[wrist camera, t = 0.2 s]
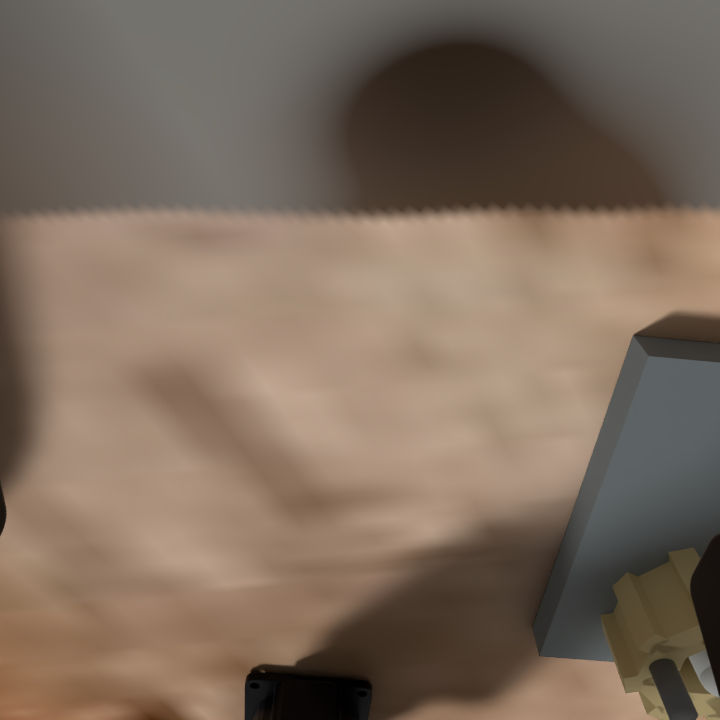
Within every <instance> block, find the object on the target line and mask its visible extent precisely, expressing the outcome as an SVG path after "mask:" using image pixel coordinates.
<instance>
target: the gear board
mask: <svg viewBox="0 0 720 720" xmlns="http://www.w3.org/2000/svg"><path fill="white" fill-rule="evenodd" d="M717 533H720V344H719V343H708V342H697V341H686V340H675V339H664V338H654V337H643V336H633V337H632V340H631V343H630V346H629V349H628V352H627V355H626V358H625V361H624V364H623V366H622V369H621V372H620V375H619V378H618V381H617V384H616V387H615V390H614V393H613V396H612V398H611V401H610V404H609V407H608V410H607V413H606V416H605V419H604V422H603V425H602V427H601V430H600V433H599V436H598V439H597V442H596V445H595V448H594V451H593V454H592V457H591V459H590V462H589V465H588V468H587V471H586V474H585V477H584V480H583V483H582V486H581V489H580V491H579V494H578V497H577V500H576V503H575V506H574V509H573V512H572V515H571V518H570V520H569V523H568V526H567V529H566V532H565V535H564V538H563V541H562V544H561V547H560V550H559V552H558V555H557V558H556V561H555V564H554V567H553V570H552V573H551V576H550V579H549V582H548V584H547V587H546V590H545V593H544V596H543V599H542V602H541V605H540V608H539V611H538V613H537V616H536V619H535V622H534V625H533V632H534V636H535V640H536V644H537V648H538V652H539V656H544V657H557V658H570V659H583V660H596V661H609V662H615V664H616V667H617V670H618V673H619V675H620V678H621V681H622V684H623V687H624V689H625V692H626V693H631V692H637V691H639V694H640V697H641V699H642V702H643V705H644V707H645V710H646V712H647V714H648V715H650V716H653V717H656V718H658V719H661V720H668V719H670V720H696V718H697V717H698V716H702V717H706V720H720V697H719V694H718V690H717V687H716V683H715V680H714V676H713V673H712V669H711V665H710V662H709V658H708V655H707V651H706V648H705V644H704V641H703V637H702V634H701V630H700V626H699V623H698V619H697V616H696V612H695V609H694V605H693V602H692V598H691V593H690V581H691V577H692V574H693V572H694V570H695V568H696V566H697V564H698V562H699V561H700V559H701V557H702V555H703V553H704V551H705V549H706V547H707V545H708V544H709V542H710V540H711V538H712V537H713V536H715V535H716V534H717Z"/></svg>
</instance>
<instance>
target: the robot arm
mask: <svg viewBox="0 0 720 720" xmlns="http://www.w3.org/2000/svg"><path fill="white" fill-rule="evenodd" d="M5 522H6V505H5V500H4V496H3V491H2V486H1V481H0V536H1V533H2V531H3V529H4V525H5ZM690 593H691V598H692V602H693V605H694V609H695V612H696V616H697V619H698V623H699V626H700V630H701V634H702V637H703V641H704V644H705V648H706V651H707V655H708V658H709V662H710V665H711V669H712V673H713V676H714V680H715V683H716V687H717V690H718V694H719V697H720V533H717V534H716V535H715V536H713V537H712V538H711V540H710V542H709V544H708V545H707V547H706V549H705V551H704V553H703V555H702V557H701V559H700V561H699V562H698V564H697V566H696V568H695V570H694V572H693V574H692V577H691V581H690ZM371 697H372V685H371V684H370V683H369V682H367V681H362V680H348V679H335V678H322V677H308V676H295V675H282V674H268V673H250V674H248V675H247V677H246V682H245V720H368V715H369V709H370V703H371Z"/></svg>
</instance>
